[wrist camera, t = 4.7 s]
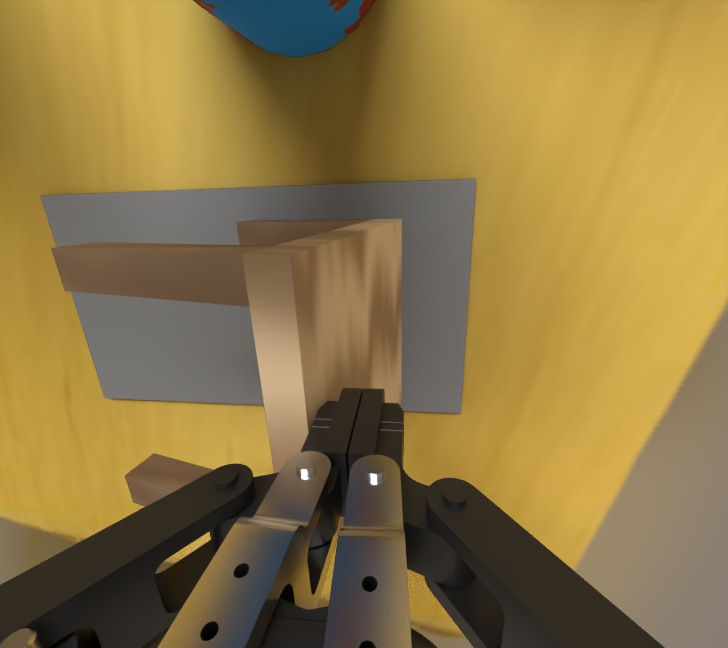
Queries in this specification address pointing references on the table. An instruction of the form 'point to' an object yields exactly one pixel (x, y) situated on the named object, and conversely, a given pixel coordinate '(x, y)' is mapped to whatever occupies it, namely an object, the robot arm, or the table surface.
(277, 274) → the stool
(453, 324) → the mat
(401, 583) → the robot arm
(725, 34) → the table surface
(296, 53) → the thermos
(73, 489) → the table surface
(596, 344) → the table surface
